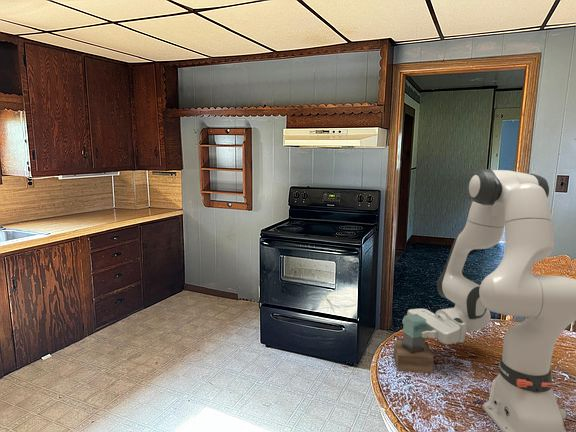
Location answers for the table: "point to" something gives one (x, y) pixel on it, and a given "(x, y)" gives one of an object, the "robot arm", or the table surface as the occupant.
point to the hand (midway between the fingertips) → (412, 328)
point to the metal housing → (413, 333)
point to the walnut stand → (413, 359)
